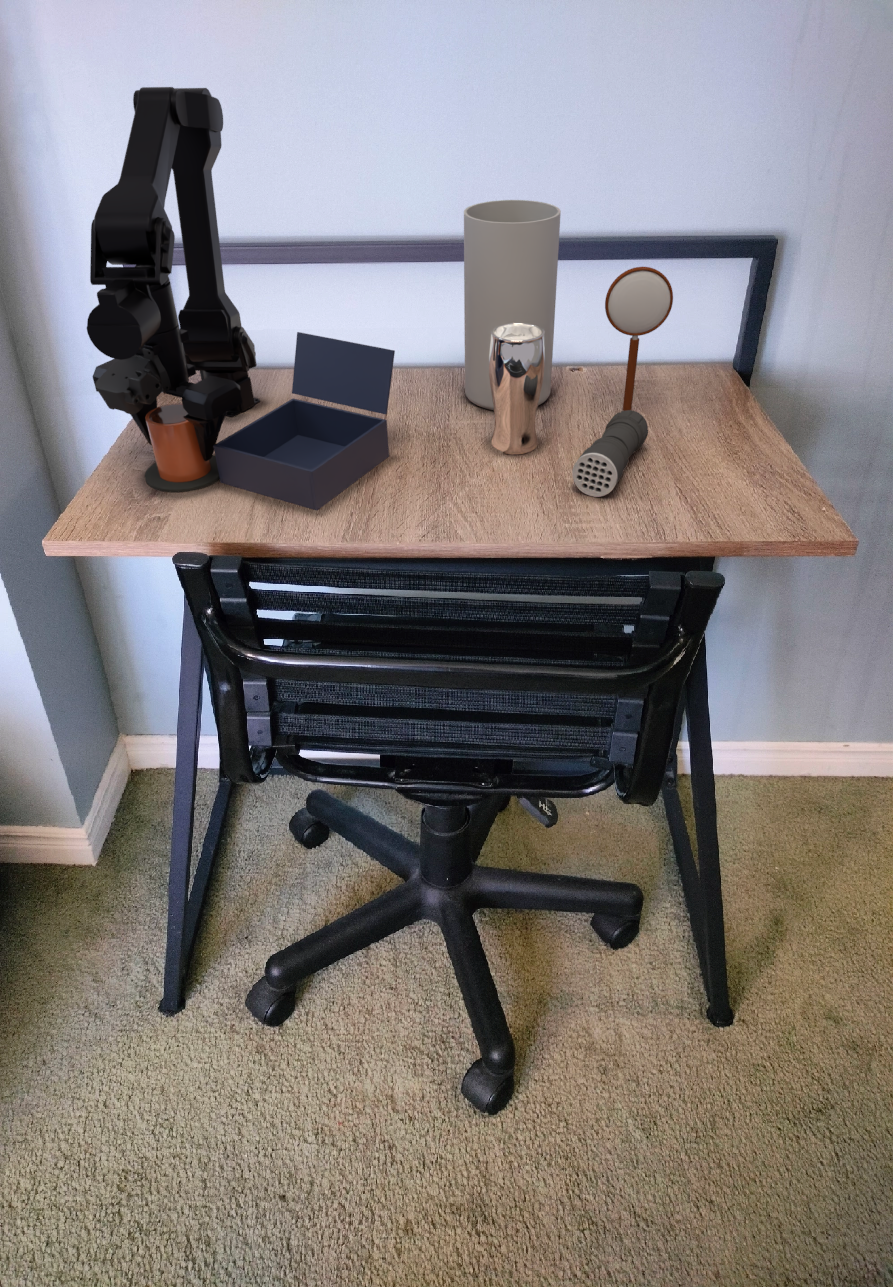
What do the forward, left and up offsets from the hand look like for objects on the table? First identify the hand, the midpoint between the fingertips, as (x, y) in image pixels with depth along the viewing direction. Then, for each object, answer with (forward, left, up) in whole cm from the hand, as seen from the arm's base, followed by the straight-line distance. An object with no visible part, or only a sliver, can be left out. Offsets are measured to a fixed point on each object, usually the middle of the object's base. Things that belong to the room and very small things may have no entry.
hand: (180, 451), depth 111 cm
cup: (0, 0, -3) cm, 3 cm away
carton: (+13, +8, -3) cm, 16 cm away
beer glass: (+33, +27, -4) cm, 43 cm away
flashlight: (+47, +26, -4) cm, 54 cm away
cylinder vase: (+25, +41, -4) cm, 48 cm away
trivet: (0, 0, -3) cm, 3 cm away
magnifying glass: (+43, +42, -4) cm, 60 cm away
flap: (+13, +17, +7) cm, 22 cm away
